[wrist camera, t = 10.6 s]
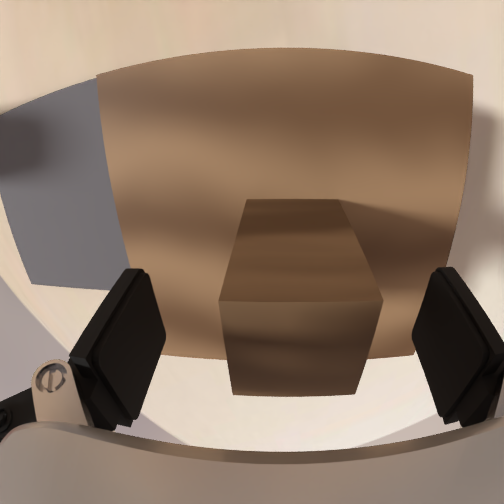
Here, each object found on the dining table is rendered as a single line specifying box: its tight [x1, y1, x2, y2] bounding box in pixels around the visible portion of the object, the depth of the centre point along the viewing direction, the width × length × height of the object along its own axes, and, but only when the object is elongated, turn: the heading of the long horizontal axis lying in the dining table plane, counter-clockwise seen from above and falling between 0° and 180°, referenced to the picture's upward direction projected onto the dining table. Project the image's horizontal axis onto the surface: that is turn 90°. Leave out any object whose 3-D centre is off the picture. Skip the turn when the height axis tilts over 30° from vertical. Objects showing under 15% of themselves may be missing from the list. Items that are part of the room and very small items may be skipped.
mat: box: [0, 78, 131, 290], centre depth 23 cm, size 19×19×1 cm
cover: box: [96, 48, 473, 397], centre depth 11 cm, size 17×17×8 cm
